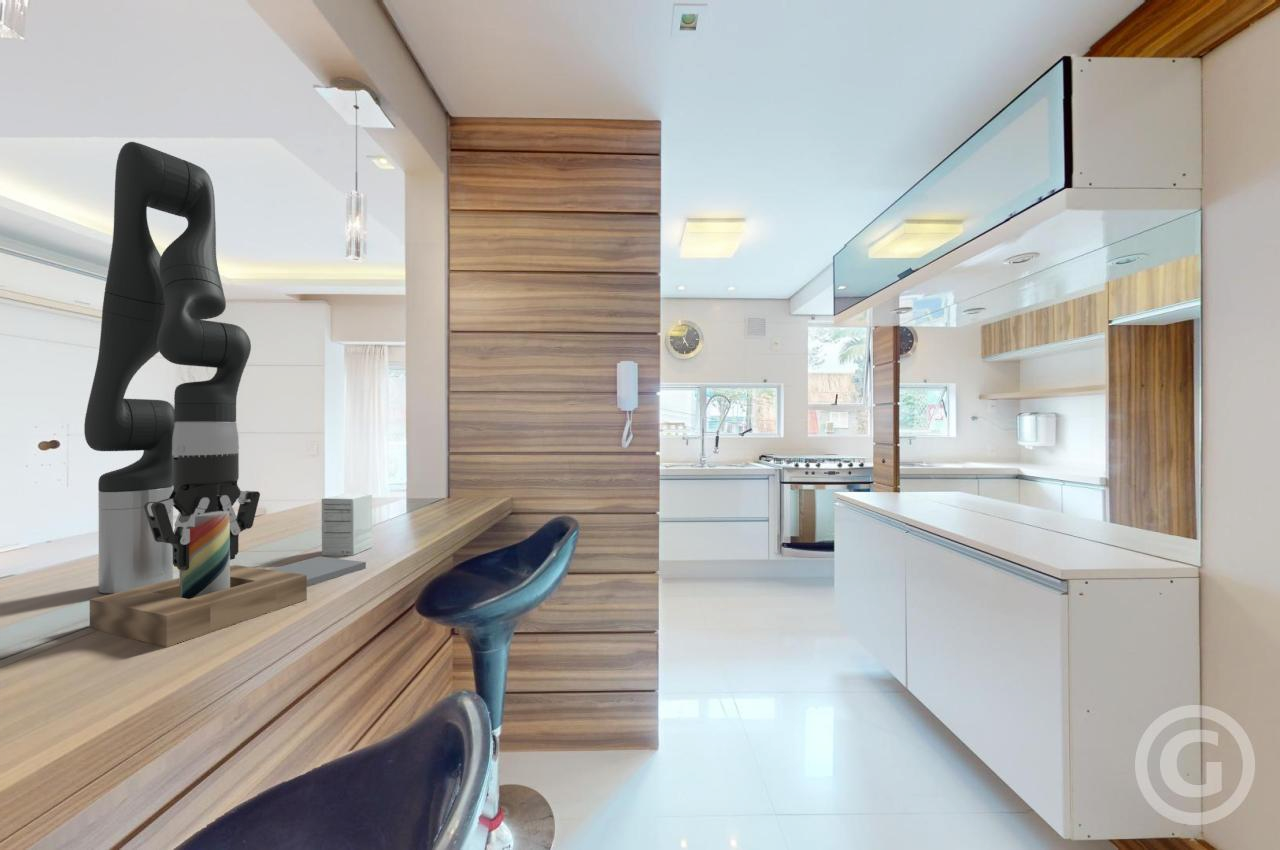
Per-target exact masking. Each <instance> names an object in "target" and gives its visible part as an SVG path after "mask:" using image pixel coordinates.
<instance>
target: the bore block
mask: <svg viewBox="0 0 1280 850" xmlns="http://www.w3.org/2000/svg"><path fill="white" fill-rule="evenodd" d="M307 587H308V586H307V575H302V574H295V573H288V572H281V571H274V570H269V569H266V568H260V567H251V566H245V565H239V564H238V565H237V564H233V565H230V588H228V589H224V590H220V591H217V592H213V593H210V594H206V595H202V596H199V597H195V598H191V599H186V598H180V586H179V577H178V578H173V580H169V581H165V582H161V583H156V584H152V585H148V586H144V587H139V588H135V589H131V590H127V591H123V592H118V593H109V594H105V595H103V596H98V597H94V598H91V599H89V628H90V629H92V630H95V631H101V632H104V633H109V634H112V635H117V636H120V637H125V638H129V639H132V640H137V641H142V642H145V643H149V644H153V645H156V646H160V647H164V648H168V647H172V646H175V645H178V644H180V642H181V643H184V642H186V640H187V641H189V639H190V640H192V638H193V639H196V638H199V637H201V636H204V635H207V634H210V633H212V632H216V631H219V630H222V629H224V628H228V627H230V625H231V626H234V625H236V623H237V624H240V623H242V622H241V621H243V622H245V621H244V620H246V621H248V620H247V619H249V620H251V619H255V618H256V617H261V616H263V615H265V613H266V614H268V612H269V613H271V611H272V612H275V611H277V609H278V610H280V609H279V608H281V609H283V608H282V607H284V608H287V607H289V606H288V605H290V606H292V604H293V605H296V604H298V602H299V603H301V601H302V602H303V600H305V601H306V600H308V599H307V598H308V597H307V594H308V592H307V591H308V589H307ZM295 603H296V604H295ZM286 606H287V607H286ZM274 610H275V611H274ZM239 622H240V623H239ZM233 624H234V625H233ZM227 626H228V627H227ZM183 641H184V642H183ZM177 643H178V644H177Z"/></svg>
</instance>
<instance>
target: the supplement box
mask: <svg viewBox="0 0 1280 850" xmlns="http://www.w3.org/2000/svg"><path fill="white" fill-rule="evenodd" d="M371 548H373V494H372V493H341V494H337V495H332V496H328V497H323V498H321V555H322V554H323V555H322V556H344V555H348V556H350V555H351V556H355V555H356V554H359V553H361V552H364V551H367V550H370V549H371Z"/></svg>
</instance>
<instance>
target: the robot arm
mask: <svg viewBox="0 0 1280 850" xmlns="http://www.w3.org/2000/svg"><path fill="white" fill-rule="evenodd" d="M215 199H216V198H215V192H214V185H213V181H212V179H211V177H210V175H209V173H208V172H207V171H206V170H205V169H204V168H203V167H201V166H199V165H197V164H195V163H193V162H190V161H187V160H186V159H182V158H180V157H176V156H174V155H172V154H170V153H167V152H163V151H161V150H158V149H155V148H153V147H151V146H148V145H145V144H143V143H139V142H135V141H128V142H125V143H124V145H122V147H121V148H120V150H119V153H118V156H117V159H116V167H115V180H114V203H113V204H114V206H113V209H114V211H113V232H112V243H111V252H110V257H109V264H108V271H107V277H106V281H105V288H104V293H103V303H102V311H101V312H102V313H101V328H100V337H99V338H100V339H99V349H98V358H97V362H96V366H95V367H96V368H95V373H94V376H93V377H94V378H93V382H92V384H91V389H90V394H89V397H88V401H87V407H86V413H85V416H84V425H83V426H84V429H83V430H84V438H85V441H86V444H87V445H88V447H89V448H90V449H91V450H94V451H97V452H129V451H130V452H133V451H136V452H137V451H138V452H139V451H143V452H142V455H141V457H140V458H139V459H138V460H136V461H135V462H132V463H131V464H128V465H127V466H124V467H121V468H118V469H115V470H112V471H109V472H106V473H103V474H101V475H100V476H99V479H98V489H97V490H98V493H97V495H98V593H100V592H101V594H114V593H118V592H123V591H127V590H131V589H135V588H139V587H144V586H148V585H152V584H156V583H161V582H165V581H169V580H172V579H174V567H176V568H177V569H178V570H188V569H189V545H186V544H188V543H189V542H190V529H191V528H193V527H194V526H195V517H196V516H198V515H201V514H204V511H205V510H206V509H207V507H208V504H209V502H210V500H209V499H208V498H206V497H202V498H199V497H198V488H199V486H201V485H212V484H221V495H220V497H219V503H220V506H221V509H219V510H222V511H228V512H229V522H230V561H231V560H234V559H236V556H237V555H238V554H239V537H240V536H239V535H240V533H241V532H243V531H245V530H248V529H251V528H252V527H253V526H254V522H255V521H254V520H255V517H256V513H257V509H258V505H259V501H260V498H261V497H260V496H261V493H260V492H259V491H253V490H241V489H240V488H239V485H238V481H239V477H240V476H239V475H240V474H239V473H240V471H239V470H240V468H239V467H240V465H239V464H240V463H239V459H240V458H239V457H240V455H239V453H240V452H239V449H240V444H239V431H238V425H237V398H238V397H237V396H238V391H239V387H240V383H241V380H242V376H243V373H244V371H245V368H246V366H247V363H248V360H249V358H250V354H251V350H252V344H251V339H250V337H249V335H248V333H247V331H245V329H243V327H241V326H239V325H237V324H233V323H227V322H220V321H213V320H209V319H213V318H217V317H219V316H221V315H223V313H224V312H225V310H226V307H227V304H226V303H227V302H226V297H225V294H224V289H223V288H224V287H223V284H222V280H221V276H220V272H219V267H218V261H217V237H216V236H217V233H216V231H217V228H216V227H217V226H216V225H217V224H216V204H215V202H216V201H215ZM148 208H151V209H154V210H157V211H159V212H160V211H161V212H163V213H166V214H167V213H168V214H171V215H174V216H178V217H180V218H185V219H186V221H187V227H186V228H185V230H184V231H183V232H182V233H181V234H180V235H179V236H178V237H177V238H176V239H174V240H173V241H172V242H170V244H169V245H167V247H166V248H165V249H164V251H163V253H162V254H161V253H159V251H158V248H157V247H156V245H155V242H154V240H153V238H152V237H153V236H152V234H151V231H150V228H149V224H148V223H149V222H148V214H147V210H148ZM158 353H160V355H161V356H162V357H163V358H164V359H165V360H167V361H168V362H170V363H171V364H175V365H179V366H180V365H181V366H190V367H191V366H193V367H202V368H203V367H204V368H213V369H214V368H216V372H215V374H214V375H213V376H212V378H210V379H207V380H201V381H190V382H183V383H180V384H179V385H176V387H175V389H174V395H173V396H174V398H173V399H174V400H173V401H174V406H173V405H172V404H171V402H169V401H167V400H163V399H144V398H143V399H141V398H125V394H126V392H127V389H128V388H129V385H130V383H131V381H132V380H133V378H134V376H136V375H137V373H138V371H139V370H140V369H141V368H142V367H143V366H144V365H145V364H146V363H147V362H149V360H151V359H152V358H154V357H155V356H156V354H158ZM236 502H238V503H239V506H238V510H237V514H236V513H235V510H234V508H233V506H234V505H235V503H236ZM174 508H175V509H176V510H177V511H178V515H177V518H176V520H175V522H174ZM181 515H184V516H190V519H189V520H188V521H187V522H184V523H181V522H180V521H179V518H180V516H181ZM180 527H183V530H182V533H181V535H180Z"/></svg>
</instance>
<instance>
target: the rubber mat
mask: <svg viewBox="0 0 1280 850" xmlns="http://www.w3.org/2000/svg"><path fill="white" fill-rule="evenodd" d="M366 562H367V561H361V560H360V561H359V560H353V559H344V558H336V557H335V558H334V557H327V556H326V557H325V556H316V557H312V558H308V559H304V560H301V561H296V562H293V563H289V564H286V565H282V566H278V567H274V568H270V569H268V570H274V571H281V572H288V573H295V574H302V575H307V587H309V586H313V584H314V585H316V583H317V584H319V582H320V583H322V581H323V582H326V581H329V580H333V579H335V577H336V578H338V577H342V576H346V575H347V574H348V575H349V574H351V573H354V572H358V571H360V570H361V571H362V570H364V569H366V567H367V565H366V564H367V563H366ZM332 578H333V579H332ZM325 580H326V581H325Z"/></svg>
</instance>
